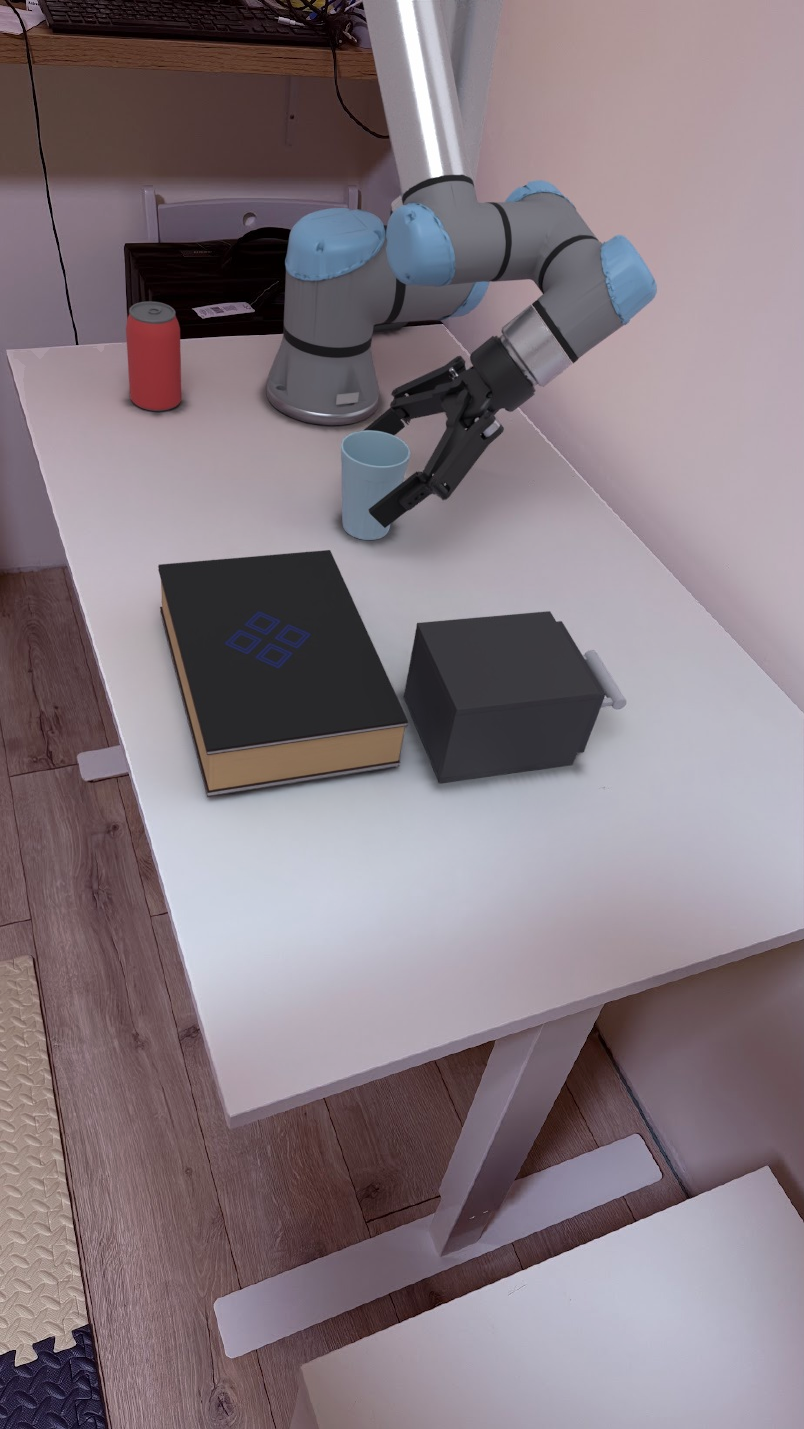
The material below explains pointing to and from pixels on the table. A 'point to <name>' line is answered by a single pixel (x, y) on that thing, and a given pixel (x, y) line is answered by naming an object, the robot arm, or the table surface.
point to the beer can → (154, 356)
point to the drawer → (596, 685)
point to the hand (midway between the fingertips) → (364, 484)
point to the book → (277, 672)
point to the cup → (369, 478)
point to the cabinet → (497, 695)
